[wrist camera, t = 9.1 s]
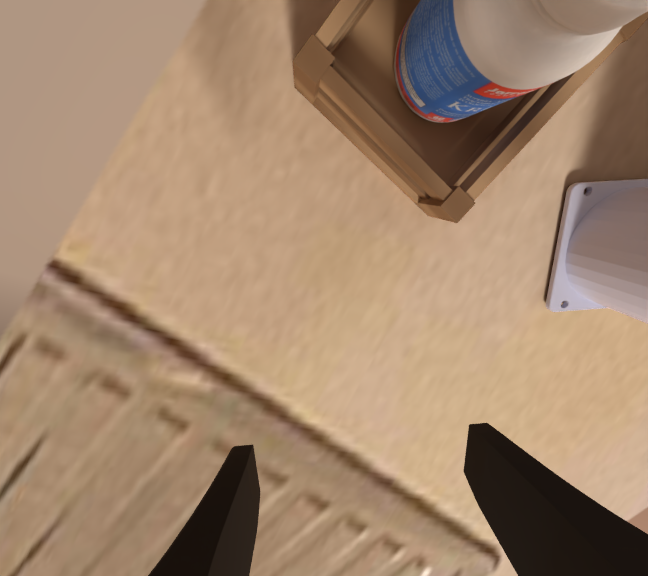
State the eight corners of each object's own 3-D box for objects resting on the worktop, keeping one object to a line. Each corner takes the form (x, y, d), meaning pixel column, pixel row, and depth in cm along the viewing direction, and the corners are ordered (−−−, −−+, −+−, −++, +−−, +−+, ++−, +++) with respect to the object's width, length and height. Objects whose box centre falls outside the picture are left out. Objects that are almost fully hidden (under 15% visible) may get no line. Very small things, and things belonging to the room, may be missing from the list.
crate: (451, -130, 14) (500, -234, 10) (578, 49, 16) (651, 13, 13) (294, 87, 16) (292, 61, 13) (428, 215, 18) (456, 223, 15)
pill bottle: (416, 144, 17) (561, 96, 7) (373, 36, 15) (490, -203, 6) (513, 90, 16) (797, -35, 7) (479, -29, 14) (795, -405, 5)
